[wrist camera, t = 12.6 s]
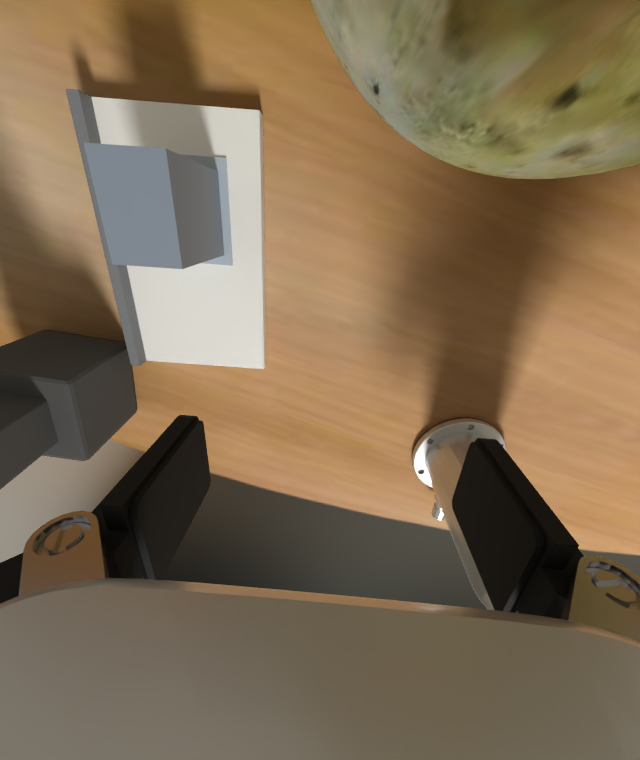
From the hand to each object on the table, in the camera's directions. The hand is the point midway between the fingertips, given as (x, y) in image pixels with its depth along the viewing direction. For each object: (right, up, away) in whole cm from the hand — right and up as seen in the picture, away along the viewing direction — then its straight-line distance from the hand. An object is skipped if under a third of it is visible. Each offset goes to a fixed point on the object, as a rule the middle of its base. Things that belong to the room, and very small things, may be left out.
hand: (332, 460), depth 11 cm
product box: (-12, +19, +18) cm, 29 cm away
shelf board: (-13, +16, +22) cm, 30 cm away
